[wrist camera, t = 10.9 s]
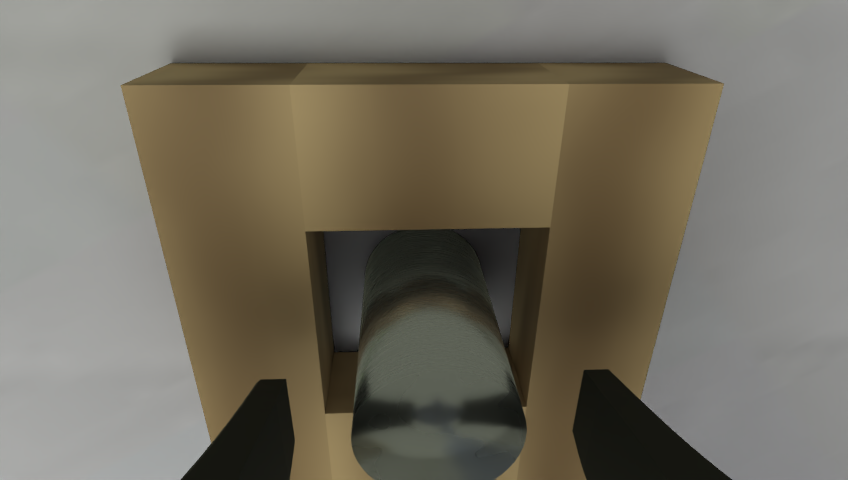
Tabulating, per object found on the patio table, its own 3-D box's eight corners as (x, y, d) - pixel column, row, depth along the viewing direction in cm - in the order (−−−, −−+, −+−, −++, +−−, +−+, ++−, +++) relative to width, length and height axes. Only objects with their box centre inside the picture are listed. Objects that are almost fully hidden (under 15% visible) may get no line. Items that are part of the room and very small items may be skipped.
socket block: (665, 62, 15) (723, 83, 13) (591, 417, 22) (618, 480, 19) (170, 63, 14) (120, 85, 12) (246, 429, 21) (224, 496, 18)
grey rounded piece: (487, 227, 17) (540, 371, 11) (474, 325, 19) (513, 496, 13) (365, 222, 17) (351, 368, 11) (364, 323, 19) (350, 497, 13)
